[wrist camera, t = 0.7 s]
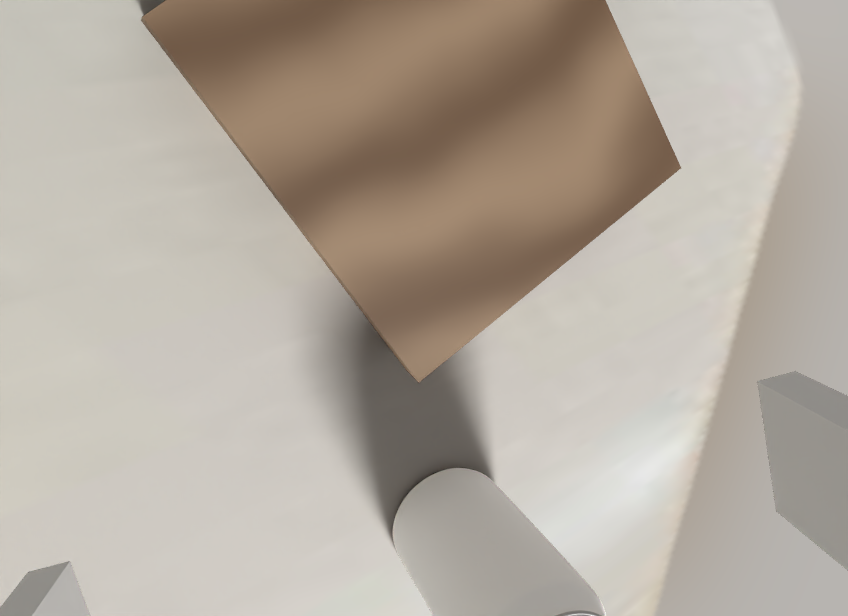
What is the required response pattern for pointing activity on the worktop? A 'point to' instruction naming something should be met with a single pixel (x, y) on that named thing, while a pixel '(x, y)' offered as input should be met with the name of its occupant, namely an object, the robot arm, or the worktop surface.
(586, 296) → the worktop surface
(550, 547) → the can
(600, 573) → the worktop surface
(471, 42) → the platform
